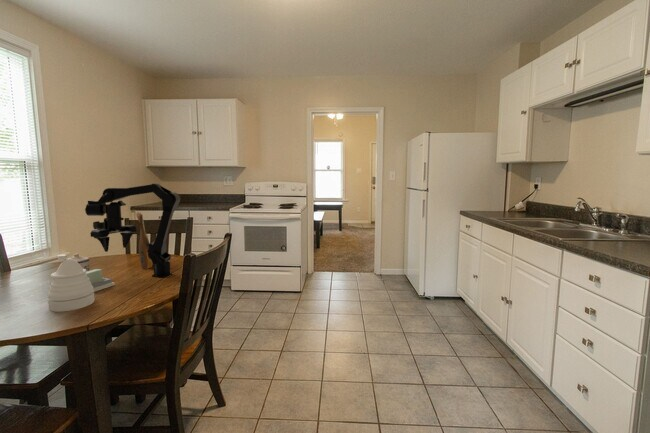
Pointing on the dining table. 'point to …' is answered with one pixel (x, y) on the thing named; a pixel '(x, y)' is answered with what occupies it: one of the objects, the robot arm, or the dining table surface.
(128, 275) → the dining table surface
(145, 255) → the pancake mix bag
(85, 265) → the teacup with lid
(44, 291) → the dining table surface
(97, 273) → the pale green block
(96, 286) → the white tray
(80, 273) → the honey pot
